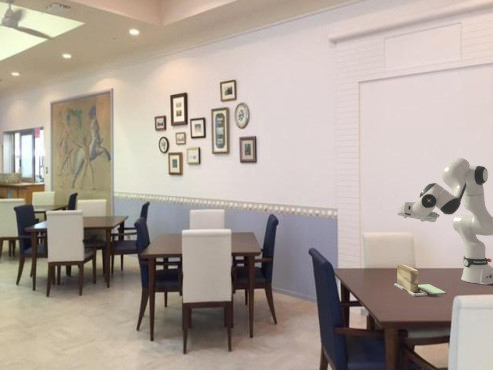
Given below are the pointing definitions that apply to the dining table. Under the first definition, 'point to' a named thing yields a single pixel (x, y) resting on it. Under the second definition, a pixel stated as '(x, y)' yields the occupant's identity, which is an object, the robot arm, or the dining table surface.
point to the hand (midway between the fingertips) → (413, 218)
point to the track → (399, 286)
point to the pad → (430, 289)
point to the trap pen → (418, 293)
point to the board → (407, 278)
